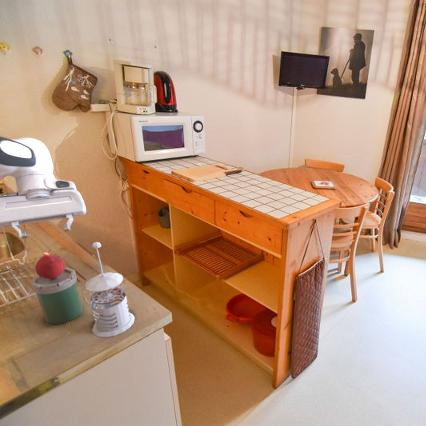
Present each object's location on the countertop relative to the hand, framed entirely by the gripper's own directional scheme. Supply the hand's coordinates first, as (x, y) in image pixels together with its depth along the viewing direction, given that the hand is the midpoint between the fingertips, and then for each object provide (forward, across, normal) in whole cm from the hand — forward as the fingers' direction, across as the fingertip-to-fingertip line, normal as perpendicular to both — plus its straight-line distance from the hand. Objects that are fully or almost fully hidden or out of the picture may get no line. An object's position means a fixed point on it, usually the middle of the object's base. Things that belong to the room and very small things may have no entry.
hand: (46, 234), depth 88 cm
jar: (+22, 0, +6) cm, 23 cm away
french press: (+30, +10, -2) cm, 31 cm away
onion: (+14, 0, -2) cm, 14 cm away
